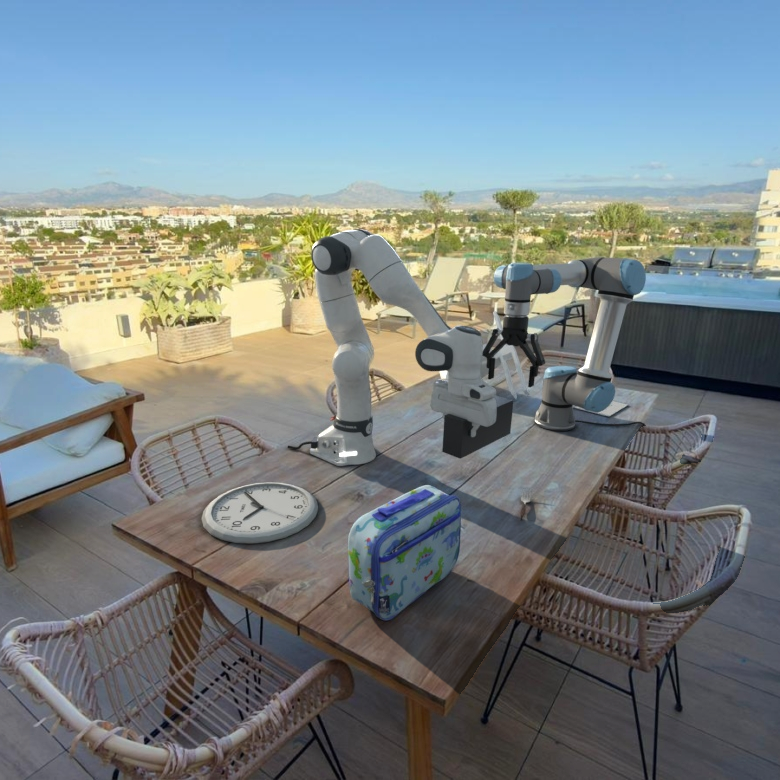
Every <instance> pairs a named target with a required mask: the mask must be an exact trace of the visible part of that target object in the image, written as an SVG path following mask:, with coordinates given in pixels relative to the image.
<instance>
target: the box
mask: <svg viewBox="0 0 780 780" xmlns="http://www.w3.org/2000/svg"><path fill="white" fill-rule="evenodd" d="M493 398H494V399H495V400H496V404H497V416H496V422H495V423H494V424H493V425H491V426H488V427H485V426H482V425H480V426H479V428H478V429H477V430H476V436H475V437H470V436H468V430H471V429H472V428H473V427H474V426H472V422H469V421H467V419H463V418H460V417H457V416H454V415H451V414H447V415H445V416H444V418H443V433H442V435H443V436H442V449H441V450H442V453H443V454H446V455H449V456H452V457H455V458H457V459H460V460H461V459H463V458H465V457H468V456H469V455H471V454H473V453H476V452H477V451H478V450H481V449H483V448H485V447H487V446H489V445H491V444H493V443H495V442H496V441H499V440H501V439H503V438H504V437H506V436H508V435H510V434H511V431H512V421H513V412H514V411H513V410H514V401H515V400H514V399H511V398H507V397H503V396H500V395H497V394H496V395H495V396H494V397H493Z"/></svg>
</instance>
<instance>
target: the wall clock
mask: <svg viewBox="0 0 780 780" xmlns="http://www.w3.org/2000/svg"><path fill="white" fill-rule="evenodd" d="M318 511H319V505H318V501H317V499H316V498H315V496H314V495H313V494H312V493H310V492H309V491H307V490H306V489H304V488H302V487H299V486H297V485H294V484H290V483H285V482H271V481H269V482H256V483H250V484H246V485H242V486H239V487H235V488H233V489H229V490H227V491H226V492H224V493H221V494H219V495H218V496H217V497H216V498H214V499H213V500H211V502H209V503H208V504H207V506H206V507H205V508H204V510H203V511H202V515H201V523H202V527H203V528H204V530H205V531H207V532H208V533H209V535H211V536H213V537H214V538H217V539H219V540H221V541H225V542H230V543H233V544H234V543H235V544H260V543H261V544H262V543H270V542H273V541H277V540H282V539H285V538H287V537H289V536H292V535H294V534H297V533H299V532H300V531H302V530H303V529H304V528H306V527H308V526H309V525H310V524H311V523H312V522H313V521H314V519H315V518H316V516H317V514H318Z"/></svg>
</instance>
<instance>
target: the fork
mask: <svg viewBox="0 0 780 780" xmlns="http://www.w3.org/2000/svg"><path fill="white" fill-rule="evenodd" d="M532 491H533V489H530V490H528V491H527V488H526V489H523V491H522V494H521V497H520V500H521V502H522V503H523V505H522V507H521V508H520V521H522V520H523V518H524V515H525V513H526V508H527V507H526V505H527V503H530V502H531V500H532Z"/></svg>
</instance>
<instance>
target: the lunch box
mask: <svg viewBox="0 0 780 780" xmlns="http://www.w3.org/2000/svg"><path fill="white" fill-rule="evenodd" d="M461 520H462V506H461V500H460V498H459V497H458V496H457V495H454V494H450V495H449V494H448V493H445V492H444V491H442V490H440V489H438V488H436V487H435V486H432V485H430V484H425V485H420V486H418V487H416V488H415V489H412V490H410V491H408V492H406V493H404V494H402V495H400V496H398V497H396V498H394V499H392V500H390V501H388V502H386V503H384V504H382V505H380V506H378V507H377V508H375V509H372V510H371V511H368V512H367V513H365V514H362V515H361V516H359V517H357V519H356V520H355V521H354V523H353V524H352V526H351V528H350V530H349V533H348V536H347V537H348V538H347V557H348V559H347V560H348V586H349V592H350V597H351V599H352V600H353V601H355V602H356V603H358V604H360V605H362V606H364V607H365V608H366V609H368V610H369V611H371V612H372V613H374V615H375V616H376V617H377V618H379V619H380V620H383V621H390V620H393V619H394V618H395V617H397V616H398V615H399V614H400V613H401V612H402V611H403V610H405V609H406V608H407V607H408V606H409V605H411V604H412V603H414V602H415V601H416V600H417V599H419V598H420V597H421V596H422V595H424V594H425V593H426V592H427V591H429V589H431V588H432V587H433V586H435V585H436V584H438V583H439V582H440V581H442V580H444V579H445V578H446V577H448V575H450V573H451V572H452V571H453V570H454V568H455V566H456V564H457V562H458V559H459V555H460V552H461V551H460V549H461V535H462V534H461V533H462V521H461Z"/></svg>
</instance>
